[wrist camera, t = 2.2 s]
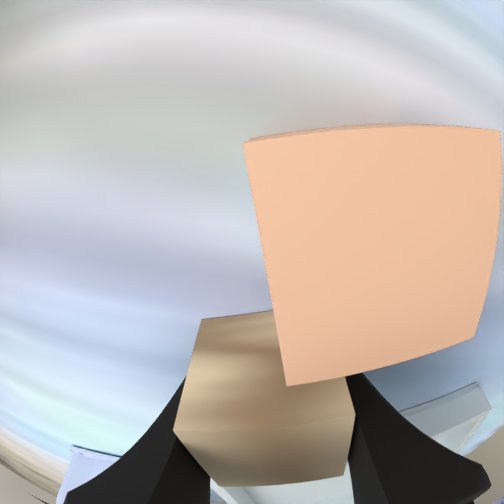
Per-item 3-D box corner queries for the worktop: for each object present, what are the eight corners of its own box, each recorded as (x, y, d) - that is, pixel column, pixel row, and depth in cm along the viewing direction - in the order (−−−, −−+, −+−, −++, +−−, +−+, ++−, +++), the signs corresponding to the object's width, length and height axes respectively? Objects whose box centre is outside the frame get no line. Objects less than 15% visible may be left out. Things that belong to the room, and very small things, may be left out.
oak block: (228, 392, 12) (219, 486, 8) (201, 319, 11) (172, 430, 6) (324, 381, 12) (343, 475, 7) (321, 302, 10) (355, 414, 6)
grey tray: (251, 504, 21) (250, 523, 18) (202, 440, 14) (197, 474, 12) (419, 471, 19) (425, 488, 17) (476, 381, 13) (491, 407, 11)
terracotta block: (275, 272, 10) (286, 386, 5) (251, 138, 8) (242, 143, 4) (396, 251, 9) (473, 337, 5) (390, 123, 8) (500, 130, 3)
